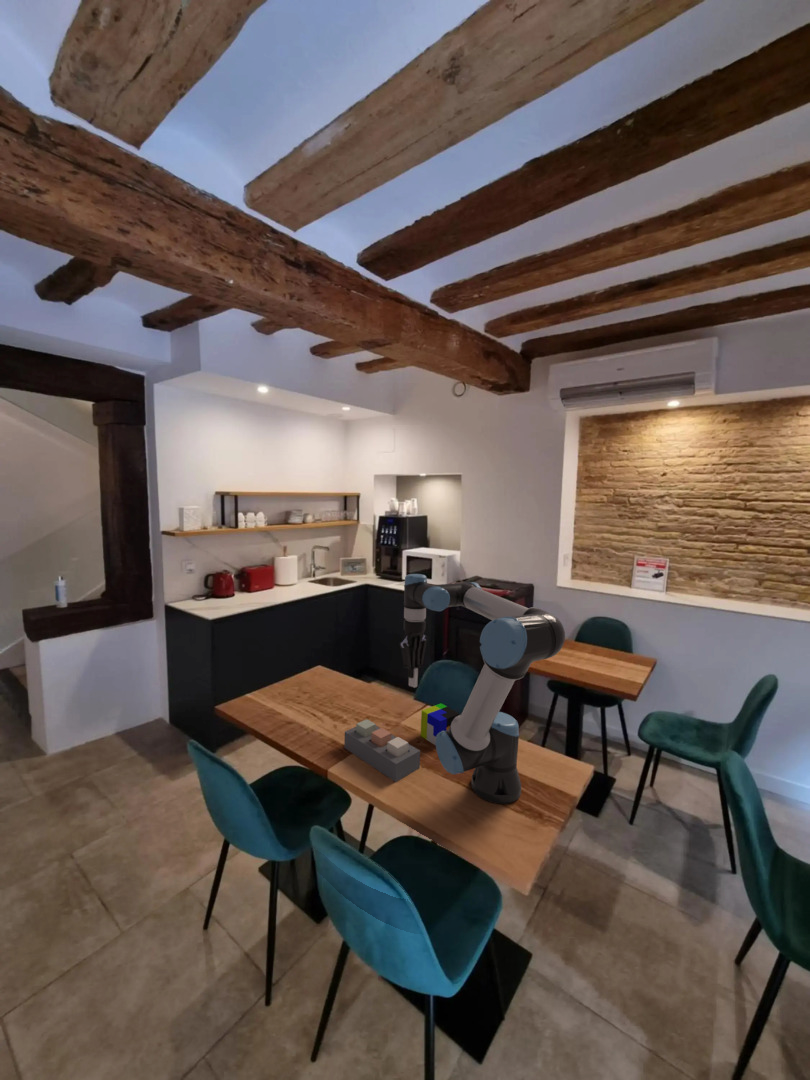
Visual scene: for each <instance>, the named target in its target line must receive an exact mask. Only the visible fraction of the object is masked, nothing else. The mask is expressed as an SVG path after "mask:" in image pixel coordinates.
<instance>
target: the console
mask: <svg viewBox="0 0 810 1080" xmlns="http://www.w3.org/2000/svg"><path fill="white" fill-rule="evenodd" d="M380 728H381V727H379V726H377V725H376V730H378V729H380ZM397 737H398V736H395V735H393V734H392V733H391V740H393V739H395V738H397ZM343 744H344V747H343V748H344V749H345V750H347V751H348V752H349V753H352V754H353V755H355V756H356V757H357V758H359V759H360V760H362V761H363V762H365V764H368V765H370V767H372V768H374V769H375V770H377V771H378V772H380V773H381V774H383V775H385V776H386V777H387V778H388V779H390V780H392V781H393V782H394V783H397V782H399V781H400V780H402V779H403V778H405V777H406V776H409V775H410V774H411V773H413V772H415V771H417V770H418V769H420V768H421V766H420V765H421V750H420V749H419V748H417V747H415V746H413V745H411V744H409V743H408V753H406V754H404V755H402V756H401V757H399V758H397V757H395V756H393V755H392V754H390V753H388V752H387V745H388V744H387V745H385V746H383V747H381V748H380V747H379V746H377V745H375V744H374V743H372V742H371V736H368V737H366V738H364V737H362V736H361V735H359V734H357V733H356V726H355V727H352V728H349V729H348V730H346V731H344V742H343Z"/></svg>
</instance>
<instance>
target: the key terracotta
mask: <svg viewBox="0 0 810 1080" xmlns="http://www.w3.org/2000/svg"><path fill="white" fill-rule="evenodd" d="M379 728H380V729H378V730H376V731H374V732H372V733H371V742H372V743H374V744H375V745H377V746H379V747H380V748H381V747H383V746H385V745H387V744H388V742H389V741H391V734H392V732H390V730H389V731H388V730H387V729H385V728H383V727H379Z"/></svg>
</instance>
